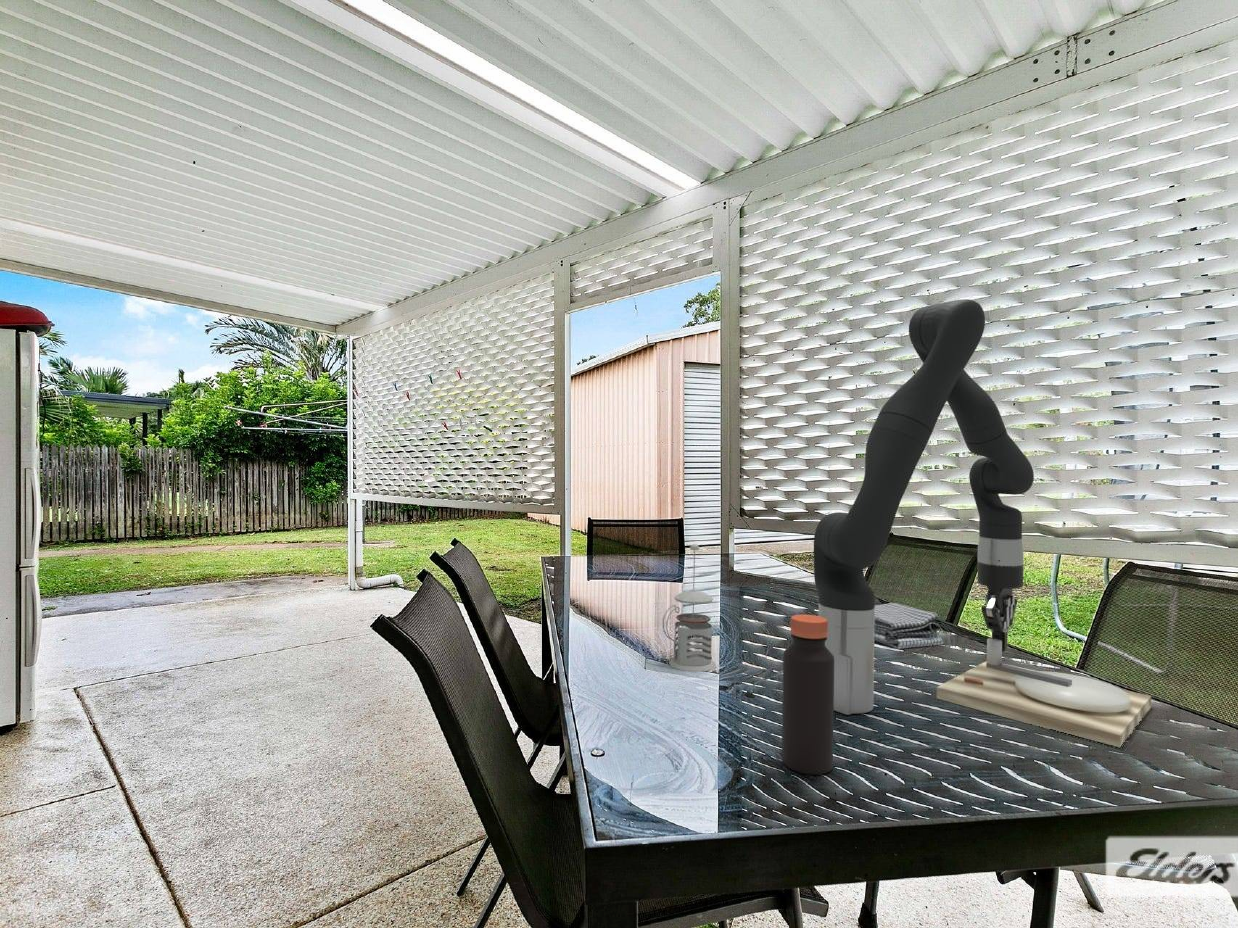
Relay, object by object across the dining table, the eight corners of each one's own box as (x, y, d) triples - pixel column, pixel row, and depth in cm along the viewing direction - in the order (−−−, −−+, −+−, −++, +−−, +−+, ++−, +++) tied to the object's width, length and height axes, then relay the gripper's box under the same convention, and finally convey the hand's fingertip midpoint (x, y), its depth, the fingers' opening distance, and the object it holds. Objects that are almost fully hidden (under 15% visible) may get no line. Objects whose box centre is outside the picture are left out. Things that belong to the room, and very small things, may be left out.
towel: (889, 628, 163) (889, 598, 163) (946, 646, 146) (946, 613, 146) (842, 631, 158) (842, 601, 159) (895, 651, 141) (895, 617, 141)
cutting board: (1119, 748, 91) (1119, 731, 91) (936, 698, 111) (936, 683, 111) (1151, 707, 108) (1151, 692, 108) (987, 669, 128) (987, 657, 128)
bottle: (772, 763, 85) (774, 617, 85) (797, 748, 89) (799, 610, 90) (817, 781, 80) (820, 627, 80) (841, 764, 84) (843, 619, 85)
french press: (725, 668, 125) (727, 546, 126) (674, 674, 121) (676, 547, 121) (701, 655, 134) (703, 540, 135) (653, 660, 130) (655, 542, 131)
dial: (1138, 720, 96) (1138, 677, 96) (984, 692, 106) (985, 654, 107) (1121, 690, 109) (1121, 652, 109) (986, 668, 120) (987, 634, 120)
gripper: (1011, 567, 111) (1010, 662, 111) (1033, 559, 120) (1032, 647, 120) (966, 562, 117) (965, 653, 117) (990, 554, 125) (989, 639, 126)
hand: (999, 650), depth 119 cm, fingers closed
